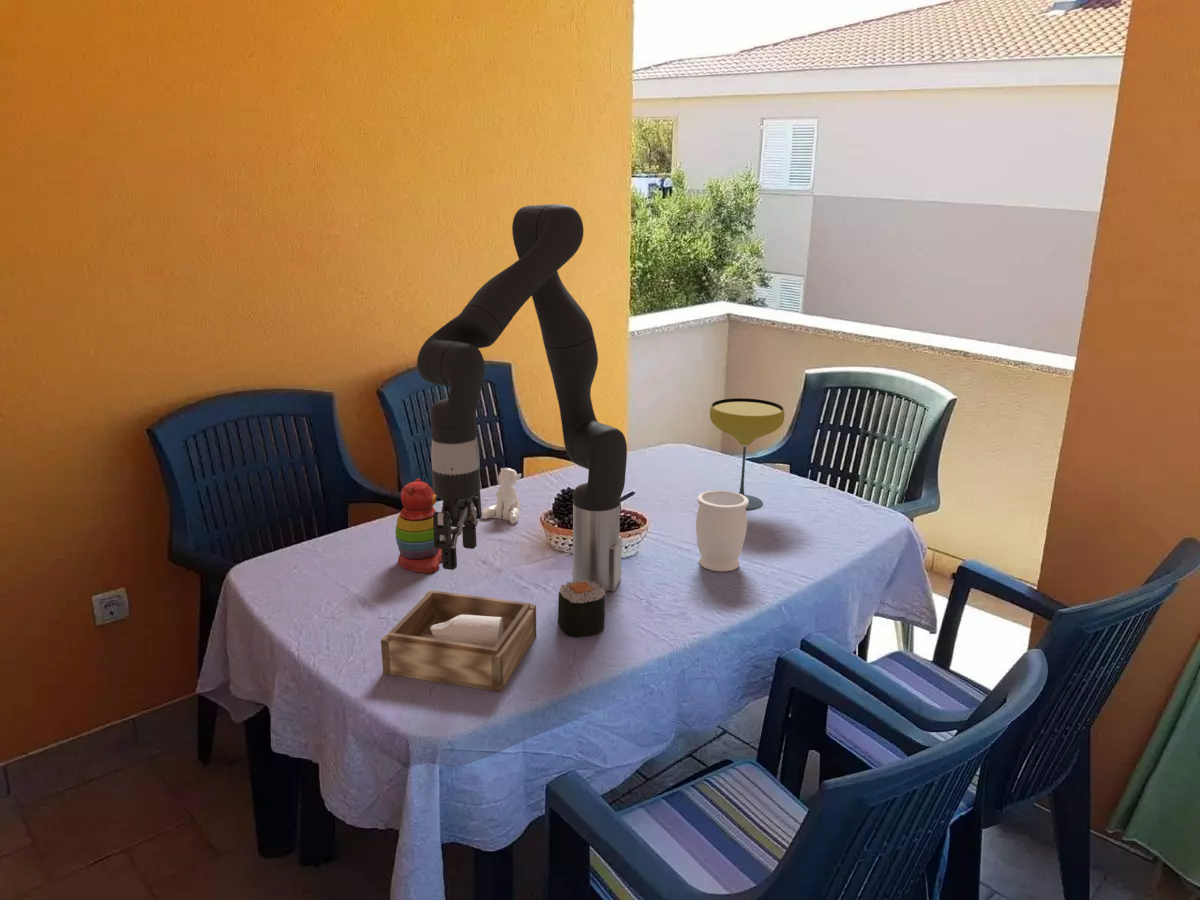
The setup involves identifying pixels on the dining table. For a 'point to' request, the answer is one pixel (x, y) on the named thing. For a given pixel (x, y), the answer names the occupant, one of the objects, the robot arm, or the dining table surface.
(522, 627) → the box
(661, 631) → the dining table surface
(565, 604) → the sushi
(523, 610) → the upper crate
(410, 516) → the stacking bear
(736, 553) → the jar
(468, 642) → the roll
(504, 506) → the sitting furry creature
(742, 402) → the cocktail glass
